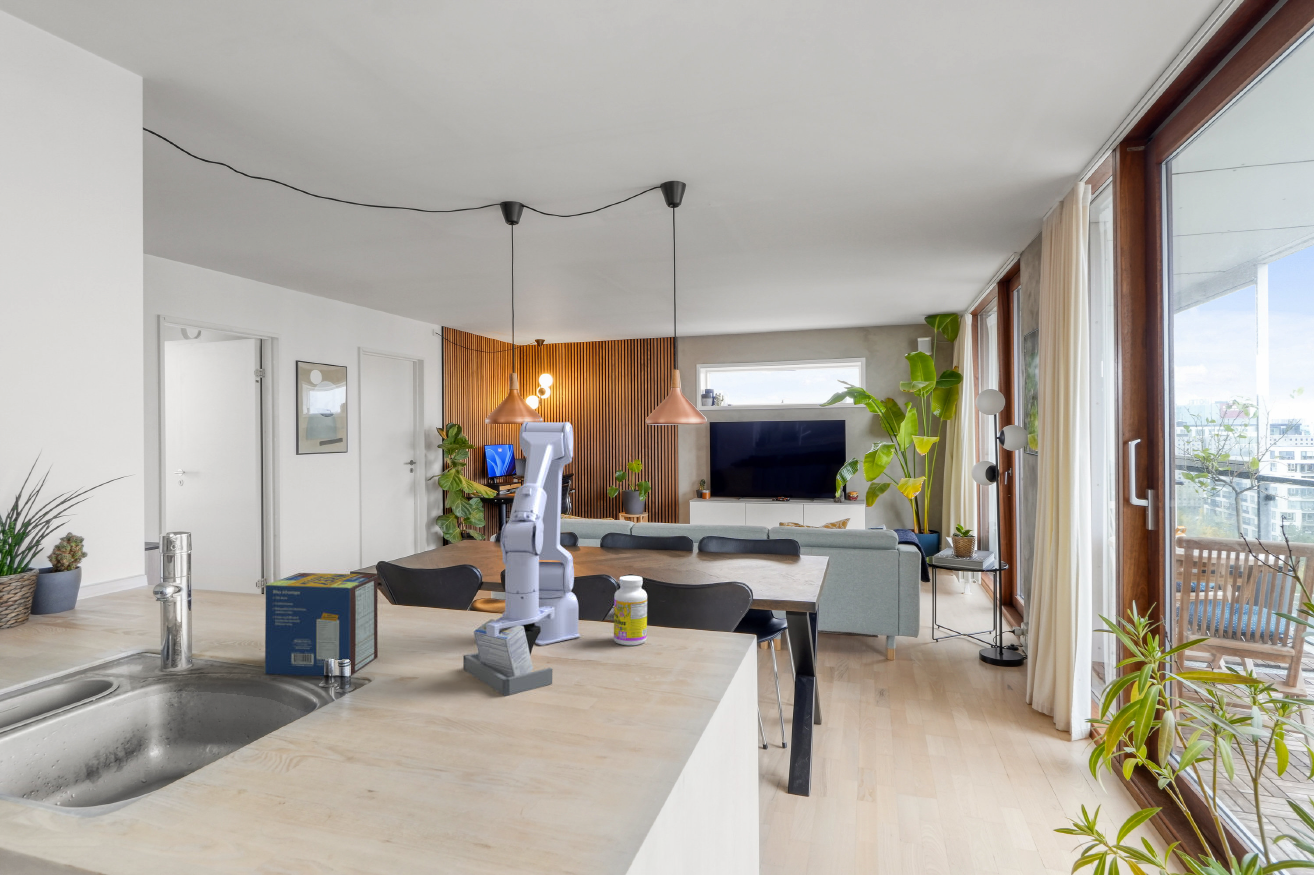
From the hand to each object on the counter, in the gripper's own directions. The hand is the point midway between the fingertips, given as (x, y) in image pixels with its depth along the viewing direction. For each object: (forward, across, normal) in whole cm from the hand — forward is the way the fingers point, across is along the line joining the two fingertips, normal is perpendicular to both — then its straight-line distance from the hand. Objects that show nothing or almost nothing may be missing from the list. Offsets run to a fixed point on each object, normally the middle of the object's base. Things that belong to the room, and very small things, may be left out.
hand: (521, 668), depth 120 cm
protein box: (+1, +18, -32) cm, 36 cm away
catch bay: (+1, +3, -1) cm, 3 cm away
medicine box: (0, +2, -1) cm, 3 cm away
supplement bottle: (+1, -26, +4) cm, 26 cm away
